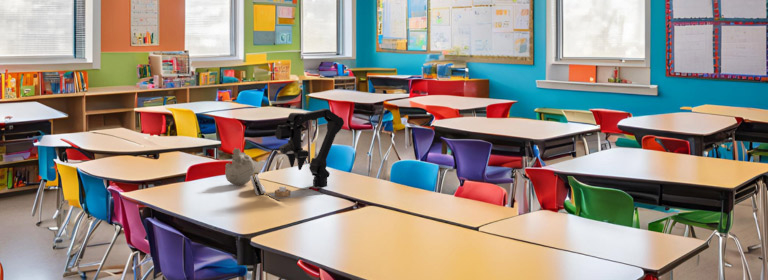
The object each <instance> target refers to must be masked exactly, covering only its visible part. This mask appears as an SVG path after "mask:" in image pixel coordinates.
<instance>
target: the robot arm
mask: <svg viewBox="0 0 768 280" xmlns="http://www.w3.org/2000/svg"><path fill="white" fill-rule="evenodd" d="M321 118H324V121H326V122H327V123H326V130H327V131H326V134H325V136H324V139H323V142H322V144H321V146H320V148H319V150H318V154H317V156H316V157H315V158H314V157H312V158H311V161H310V163H309V171H310V172H311V175H312V176H313V179H312V187H314V188H325V187H328V178H330V175H331V174H330V171H328V170H327V160H328V159H327V158H328V155H329V153H330V151H331V148H332V145H333V144H334V141H335V138H336V136H337V134H338V133H339V132H340V131H342V128H343V126H344V125H345V121H344V118H343V117H341V116H339V115H337V114H336V113H335V112H332V110H331V109H329V108H321V109H317V110H312V111H307V112H291V113H289V114H288V116H287V119H286V121H285V123H284V124H283V125H277V128H276V130H275V132H274V134H275V138H276V139H277V140H287V143H284V144H282V145H280V146H278V149H279V152H280V154H284V155H285V156H287V159H288V163H289V165H290V167H291V168H293V167H294V165H295V161H297V168H298V171H301V170H302V168H303V166H304V164H305V162H306V160H307V159H308V157H309V156H310V152H309V151H308V150H306V149H304V148H303V147H302V143H304V140H303V139H302V130H303V129H306V127H305V126H304V125H303V124H305V123H307V122H308V121H312V120H317V119H321Z"/></svg>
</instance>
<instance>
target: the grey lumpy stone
mask: <svg viewBox="0 0 768 280" xmlns="http://www.w3.org/2000/svg"><path fill="white" fill-rule="evenodd" d="M231 160H232V161H231V162H228V163H226V164H225V170H224V171H225V172H224V173H225V178H226V180H227V181H228V182H229V184H232V185H234V186H244V185H246V184H248V183H249V182H250V181H251V178H250V177H251V176H254V175H255V171H256V165H255V162H254V160H253V159H252V157H251V156H250V155H248V154H246V152H242V151H241V150H240V148H239V147H238V148H236V147H234V149H233V150H232V154H231Z"/></svg>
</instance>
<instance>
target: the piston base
mask: <svg viewBox="0 0 768 280" xmlns="http://www.w3.org/2000/svg"><path fill="white" fill-rule="evenodd" d="M278 189H279V191H282V192H284V191H286V189H287V187H286V186H279V188H278ZM321 195H322V196H323V195H325V194H324V193H321V192H320V191H317V190H314V189H312V188H311V189H302V190H299V189H298V190H291V195H290V196H287V197H277V196H275V192H272V193H271V192H270V193H268V194H267V195H266V196H267V197H268V196H269V197H268V198H271V199H272V200H275V201H277V202H280V200H283V199H285V200H286V199H293V198H301V197H303V198H304V197H313V196H321Z"/></svg>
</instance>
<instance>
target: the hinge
mask: <svg viewBox="0 0 768 280" xmlns="http://www.w3.org/2000/svg"><path fill="white" fill-rule="evenodd" d="M250 178H251V180H250V181H251V184H252V187H253V189H254V193H255V195H256V196H259V195H260V194H261V195H262V194H264V193H265V196H267V195H268V193H267V192H266V188H265V186H264V185H263V184H262V183H261V180H260V177H259V175H258V174H257V173H256V174H255V173H254V174H253V176H251V177H250ZM266 193H267V194H266Z"/></svg>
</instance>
